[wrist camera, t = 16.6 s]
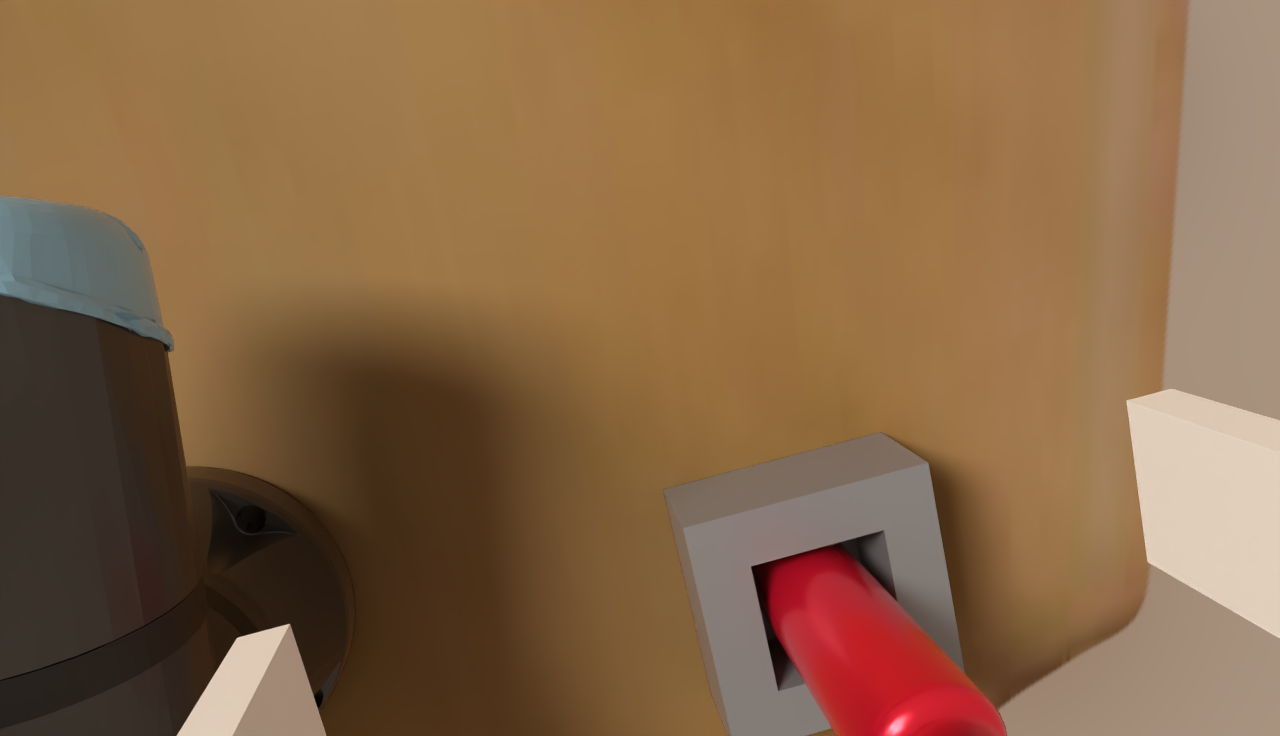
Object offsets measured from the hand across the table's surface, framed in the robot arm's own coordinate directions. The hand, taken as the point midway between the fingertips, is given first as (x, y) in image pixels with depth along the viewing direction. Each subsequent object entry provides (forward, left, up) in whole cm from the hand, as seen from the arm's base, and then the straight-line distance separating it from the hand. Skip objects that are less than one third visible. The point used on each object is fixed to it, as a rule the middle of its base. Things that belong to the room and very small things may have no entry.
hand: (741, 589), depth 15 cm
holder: (+8, -16, -35) cm, 39 cm away
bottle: (+8, -16, -34) cm, 38 cm away
